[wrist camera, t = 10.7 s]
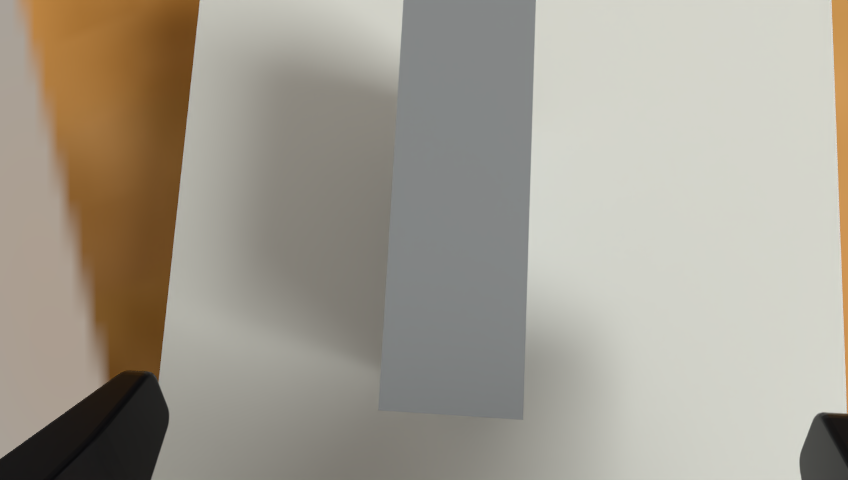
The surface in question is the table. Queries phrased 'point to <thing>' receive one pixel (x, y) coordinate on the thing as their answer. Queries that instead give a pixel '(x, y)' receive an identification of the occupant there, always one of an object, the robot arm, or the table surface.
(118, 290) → the table surface
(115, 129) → the table surface
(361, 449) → the cover
